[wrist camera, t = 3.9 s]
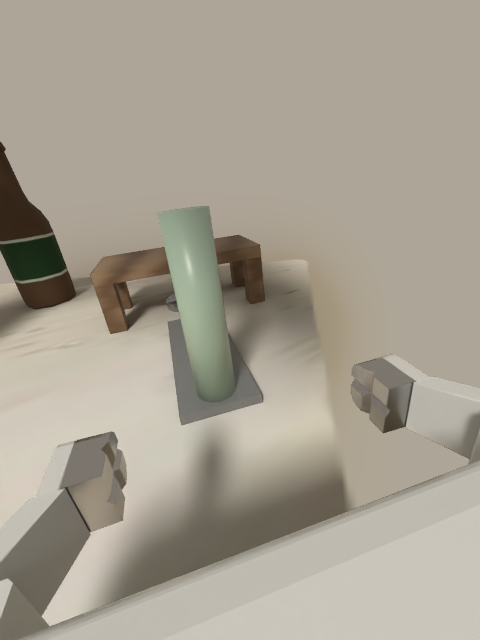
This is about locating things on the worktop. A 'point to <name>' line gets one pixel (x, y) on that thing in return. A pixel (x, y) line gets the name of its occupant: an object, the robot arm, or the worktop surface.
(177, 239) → the cylinder
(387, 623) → the robot arm
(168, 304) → the silver flat disc
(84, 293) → the worktop surface
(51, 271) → the beer bottle
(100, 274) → the bench
